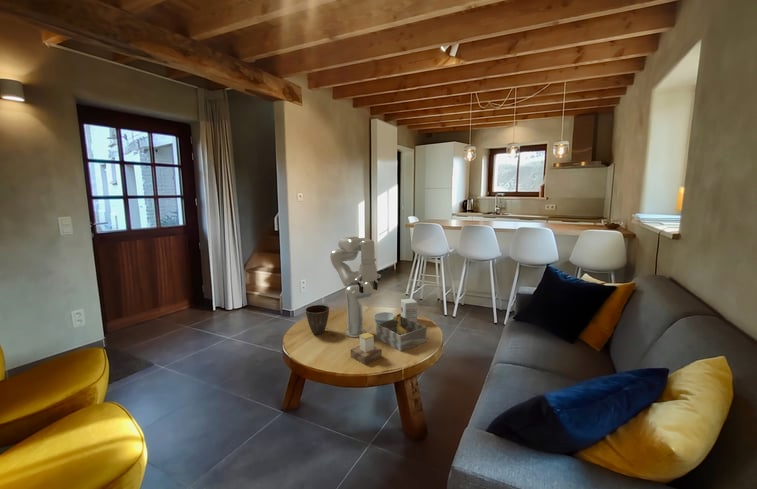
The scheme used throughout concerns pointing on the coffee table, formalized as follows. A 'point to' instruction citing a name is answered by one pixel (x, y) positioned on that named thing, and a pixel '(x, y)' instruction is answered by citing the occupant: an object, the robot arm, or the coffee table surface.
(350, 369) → the coffee table surface
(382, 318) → the chinaware
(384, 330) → the grey crate
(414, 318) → the supplement box
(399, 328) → the stuffed giraffe
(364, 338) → the tea tin
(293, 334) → the coffee table surface
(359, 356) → the walnut box
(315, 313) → the plant pot
